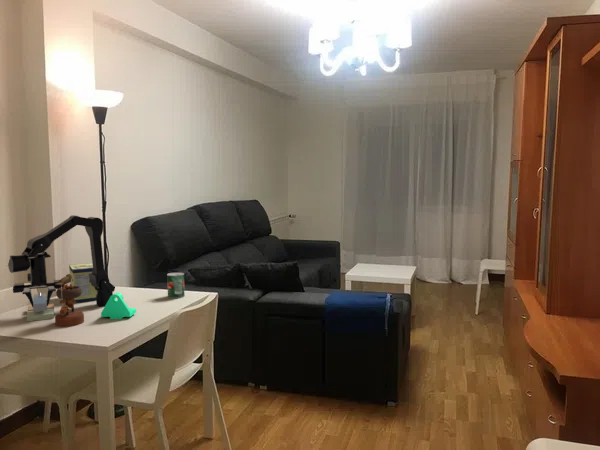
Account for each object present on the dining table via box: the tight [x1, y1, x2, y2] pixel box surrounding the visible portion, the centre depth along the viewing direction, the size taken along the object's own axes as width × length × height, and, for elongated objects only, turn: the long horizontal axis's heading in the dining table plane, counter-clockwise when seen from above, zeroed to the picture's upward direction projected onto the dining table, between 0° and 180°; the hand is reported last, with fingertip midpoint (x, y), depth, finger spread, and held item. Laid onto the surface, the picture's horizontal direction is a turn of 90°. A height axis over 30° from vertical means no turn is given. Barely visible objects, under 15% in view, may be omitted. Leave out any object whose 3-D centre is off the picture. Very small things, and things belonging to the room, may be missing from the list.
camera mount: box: [100, 292, 137, 320], centre depth 216 cm, size 12×8×10 cm, turn 87°
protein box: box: [68, 262, 97, 304], centre depth 247 cm, size 10×16×16 cm
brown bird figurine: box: [54, 273, 85, 328], centre depth 208 cm, size 15×11×20 cm
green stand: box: [26, 307, 55, 322], centre depth 216 cm, size 10×9×2 cm
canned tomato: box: [166, 271, 186, 299], centre depth 250 cm, size 8×8×11 cm
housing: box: [32, 292, 47, 312], centre depth 216 cm, size 7×5×6 cm
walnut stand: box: [27, 303, 55, 311], centre depth 225 cm, size 10×7×2 cm
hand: (40, 306), depth 216 cm, fingers closed on housing, 5 cm apart
